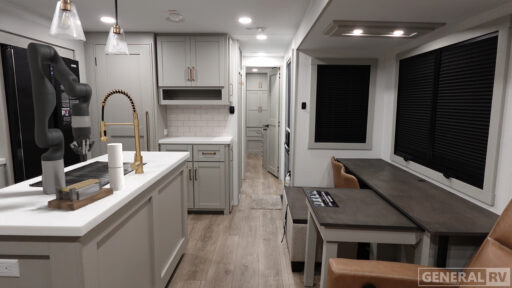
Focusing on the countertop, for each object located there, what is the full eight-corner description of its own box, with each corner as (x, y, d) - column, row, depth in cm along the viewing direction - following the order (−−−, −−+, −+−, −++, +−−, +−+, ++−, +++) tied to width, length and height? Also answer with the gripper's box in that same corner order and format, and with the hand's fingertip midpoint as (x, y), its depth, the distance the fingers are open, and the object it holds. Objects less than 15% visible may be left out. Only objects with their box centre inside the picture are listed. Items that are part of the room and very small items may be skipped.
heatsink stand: (48, 207, 125) (46, 188, 124) (90, 191, 149) (89, 175, 147) (74, 210, 123) (72, 190, 121) (113, 193, 146) (112, 177, 144)
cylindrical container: (108, 191, 150) (105, 145, 147) (111, 187, 157) (108, 143, 153) (123, 190, 152) (120, 144, 148) (125, 186, 159) (122, 143, 155)
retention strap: (59, 191, 126) (59, 188, 125) (90, 181, 143) (90, 178, 143) (68, 192, 125) (68, 189, 124) (99, 182, 142) (98, 178, 142)
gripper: (85, 124, 140) (88, 158, 142) (62, 126, 127) (65, 163, 130) (98, 125, 138) (100, 159, 141) (76, 127, 126) (79, 164, 128)
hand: (83, 161), depth 135 cm, fingers closed
